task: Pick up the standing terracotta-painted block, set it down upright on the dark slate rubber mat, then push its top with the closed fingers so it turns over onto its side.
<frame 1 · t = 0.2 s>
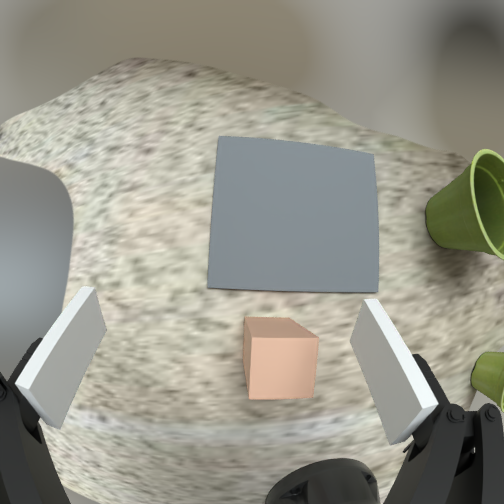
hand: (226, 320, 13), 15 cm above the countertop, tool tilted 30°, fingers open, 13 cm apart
plant pot 2: (441, 221, 30), on the countertop
mat: (300, 213, 29), on the countertop
plant pot: (481, 370, 29), on the countertop
block: (266, 339, 27), on the countertop
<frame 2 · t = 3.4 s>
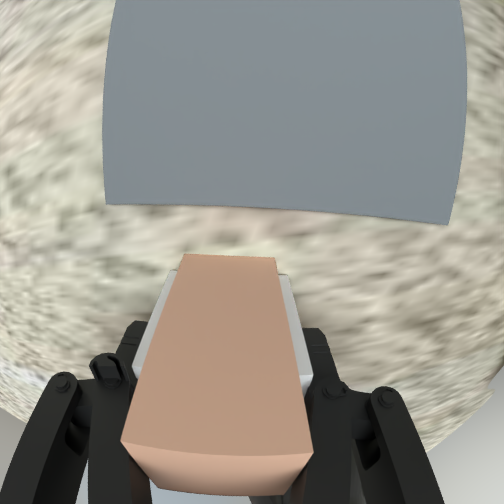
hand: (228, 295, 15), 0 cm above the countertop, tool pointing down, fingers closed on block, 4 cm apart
mat: (309, 40, 9), on the countertop
block: (228, 293, 15), on the countertop, touching gripper
when the fingers open (2 cm above the countertop, at t = 8.3 s): block stays where it is, resting on mat.
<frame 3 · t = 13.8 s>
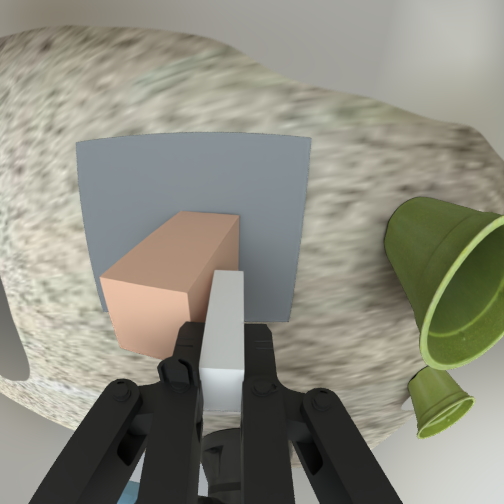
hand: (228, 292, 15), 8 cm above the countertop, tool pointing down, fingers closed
plant pot 2: (413, 233, 23), on the countertop
mat: (185, 235, 22), on the countertop
plant pot: (424, 376, 33), on the countertop
block: (209, 241, 21), point 1 cm above the countertop, tilted 11°, touching mat
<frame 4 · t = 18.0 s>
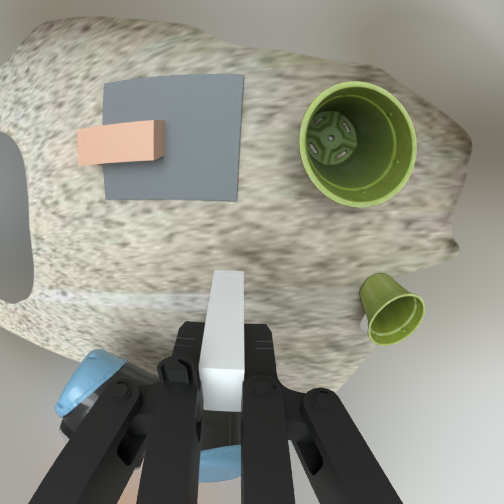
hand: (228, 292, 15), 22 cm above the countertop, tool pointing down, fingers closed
plant pot 2: (327, 137, 32), on the countertop
mat: (167, 137, 32), on the countertop
plant pot: (375, 288, 42), on the countertop
block: (159, 138, 29), point 3 cm above the countertop, tilted 90°, touching mat
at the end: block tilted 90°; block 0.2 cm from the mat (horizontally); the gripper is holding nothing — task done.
